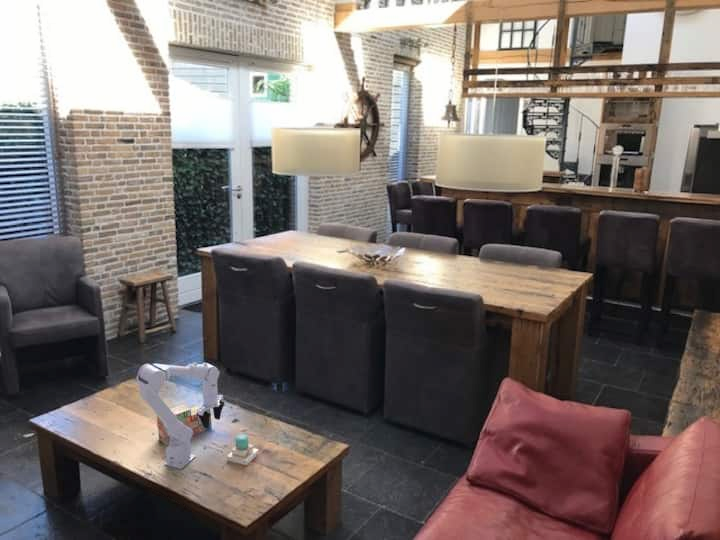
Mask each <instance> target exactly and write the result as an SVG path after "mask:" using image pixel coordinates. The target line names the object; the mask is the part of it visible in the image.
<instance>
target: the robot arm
mask: <svg viewBox="0 0 720 540" xmlns="http://www.w3.org/2000/svg"><path fill="white" fill-rule="evenodd" d="M220 374H221V373H220V371H219V369H218V367H216V366H214V365H212V364H210V363H208V362H203V363H201V364H200V363H197V362H194V361H193V362H192V363H188V364H187V365H186V366H183V365H182V366H181V365H174V364H164V363H163V364H161V363H152V364H151V363H145V364H143V365H141V366H140V367H139V369H138V372H137V375H136V380H137V382H138V387H139V395H140V397H141V399H142V400H143V401H144V402H145V404H147V406H148V407H149V408H150V410H152V412H153V413H154V414H155V415H156V417H157V416H158V417H159V418H160V420H161V421H162V422H163V423H164V426H165V428H166V432H167V434H168V435H170V444H168V446H167V447H166V448H165V450H164V451H165V452H164V453H165V454H164V455H165V462H164V466H169V467H172V468H176V469H180V470H181V469H183V468H184V467H186V465H188V464H189V463H191V461H193V460H194V459H195V458H196V454H191V440H192V438H193V436H194V435H193V431H192V429H191V428H189V427H187V426H185V425H184V424H183V423H182V422H181V421H180V420H179V419H178V418H177V417H176V416H175V415H174V413H173V412H172V411H171V410H170V409H171V408H170V407H169V406H168V405H167V404H166V403H165V402H164V400H163V399H162V398H161V396H160V395H159V393H160V391H161V390H162V387H164V384H165V382H168V380H169V379H170V377H171V376H173V377H174V376H175V377H177V376H185V377H186V378H187V379H188V380H189V379H191V380H201V384H202V385H201V386H202V387H201V388H202V401H203V402H202V404H201V405H202V406H201V407H200V409H199V410H198V412H197V415H198V416H199V418H200V419H201V421H202V424H203V427H204V428H209V420H210V416H211V417H212V413H211V414H210V413H208V412H207V410H209V409H210V410H212V411H213V417H214V420H220V419H221V414H222V411H223V409H224V407H225V404H226V402H225V401H223V400H224V395H222V394H219V395H218V379H219V376H220Z"/></svg>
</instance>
